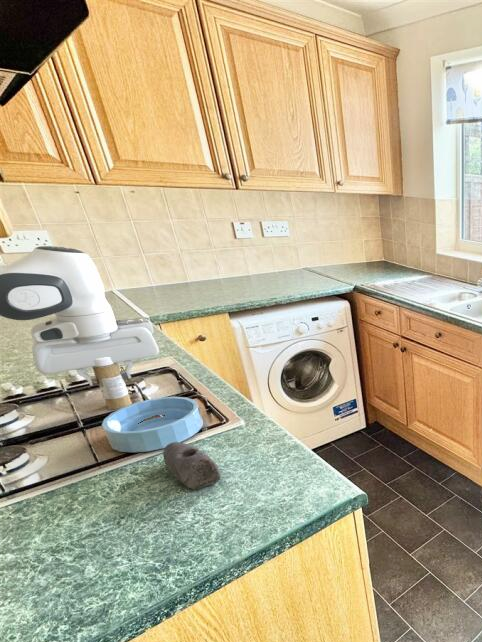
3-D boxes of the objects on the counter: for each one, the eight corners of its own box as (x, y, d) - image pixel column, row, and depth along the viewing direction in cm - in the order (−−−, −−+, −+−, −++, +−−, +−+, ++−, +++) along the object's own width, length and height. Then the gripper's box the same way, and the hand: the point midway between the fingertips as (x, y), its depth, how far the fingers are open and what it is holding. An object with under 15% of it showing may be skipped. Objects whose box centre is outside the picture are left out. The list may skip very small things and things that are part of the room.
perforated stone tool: (158, 469, 80) (147, 438, 77) (190, 457, 84) (180, 427, 81) (194, 502, 73) (183, 469, 70) (226, 486, 77) (217, 455, 74)
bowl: (93, 460, 81) (83, 436, 79) (136, 420, 95) (128, 399, 93) (186, 452, 85) (179, 429, 83) (214, 415, 99) (208, 394, 97)
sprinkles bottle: (109, 405, 100) (88, 353, 94) (134, 401, 103) (115, 350, 97) (107, 413, 97) (86, 360, 91) (133, 409, 99) (113, 356, 94)
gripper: (147, 313, 100) (164, 366, 106) (21, 328, 86) (48, 388, 92) (152, 319, 96) (169, 374, 102) (20, 336, 82) (48, 398, 88)
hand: (110, 381), depth 97 cm, fingers closed on sprinkles bottle, 4 cm apart
